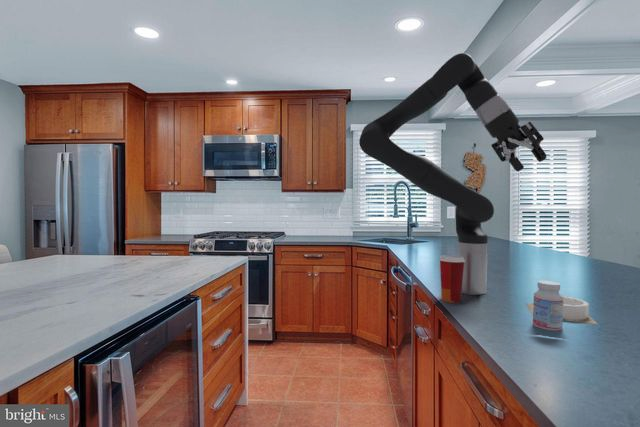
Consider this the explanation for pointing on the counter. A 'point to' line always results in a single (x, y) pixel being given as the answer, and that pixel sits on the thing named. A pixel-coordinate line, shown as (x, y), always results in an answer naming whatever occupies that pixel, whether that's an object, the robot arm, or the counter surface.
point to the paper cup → (451, 277)
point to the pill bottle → (548, 306)
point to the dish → (575, 308)
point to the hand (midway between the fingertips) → (531, 165)
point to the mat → (588, 320)
